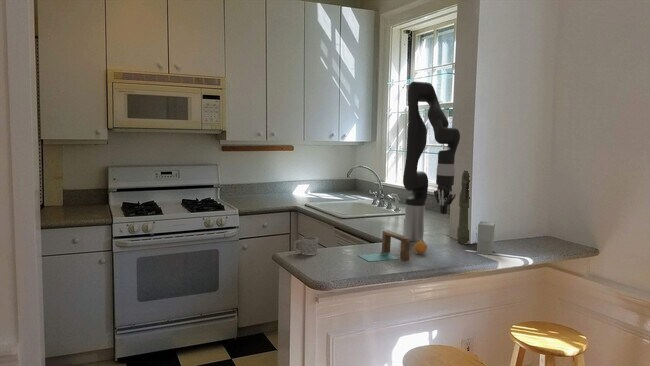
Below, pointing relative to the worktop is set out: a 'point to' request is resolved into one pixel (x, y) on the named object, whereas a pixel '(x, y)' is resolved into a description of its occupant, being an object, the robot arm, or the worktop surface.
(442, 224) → the worktop surface
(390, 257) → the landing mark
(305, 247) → the mug
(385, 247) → the bridge
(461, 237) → the olive green statue
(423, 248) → the ball
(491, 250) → the small box
